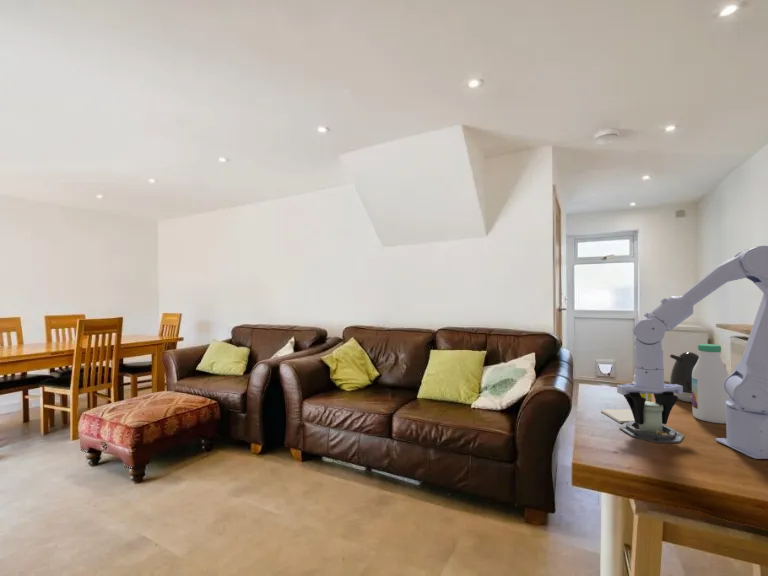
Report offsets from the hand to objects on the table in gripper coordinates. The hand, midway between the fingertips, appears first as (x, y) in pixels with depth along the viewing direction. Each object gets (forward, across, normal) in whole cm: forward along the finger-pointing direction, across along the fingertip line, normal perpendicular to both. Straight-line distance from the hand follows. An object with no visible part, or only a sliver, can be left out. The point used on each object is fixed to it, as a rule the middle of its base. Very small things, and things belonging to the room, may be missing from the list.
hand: (650, 422), depth 90 cm
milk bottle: (+3, -22, -9) cm, 24 cm away
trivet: (+2, -1, -11) cm, 11 cm away
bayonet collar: (+2, 0, 0) cm, 2 cm away
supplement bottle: (+3, -13, -23) cm, 27 cm away
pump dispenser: (+3, -29, -25) cm, 38 cm away
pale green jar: (+2, 0, 0) cm, 2 cm away
